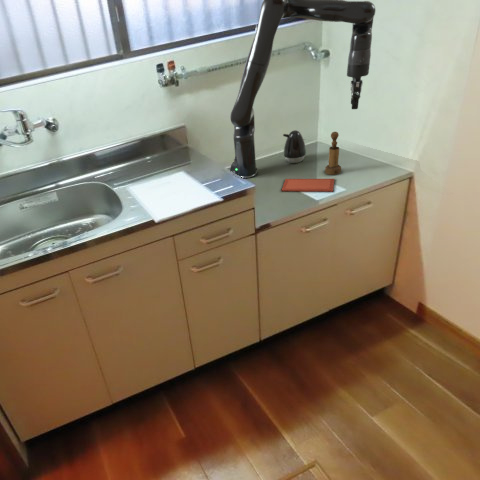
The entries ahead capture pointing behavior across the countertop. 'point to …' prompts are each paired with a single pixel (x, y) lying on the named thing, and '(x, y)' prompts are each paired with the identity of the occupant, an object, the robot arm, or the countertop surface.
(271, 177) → the countertop surface
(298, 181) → the tray
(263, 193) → the countertop surface
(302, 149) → the pump dispenser
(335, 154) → the mortar and pestle
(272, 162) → the countertop surface
